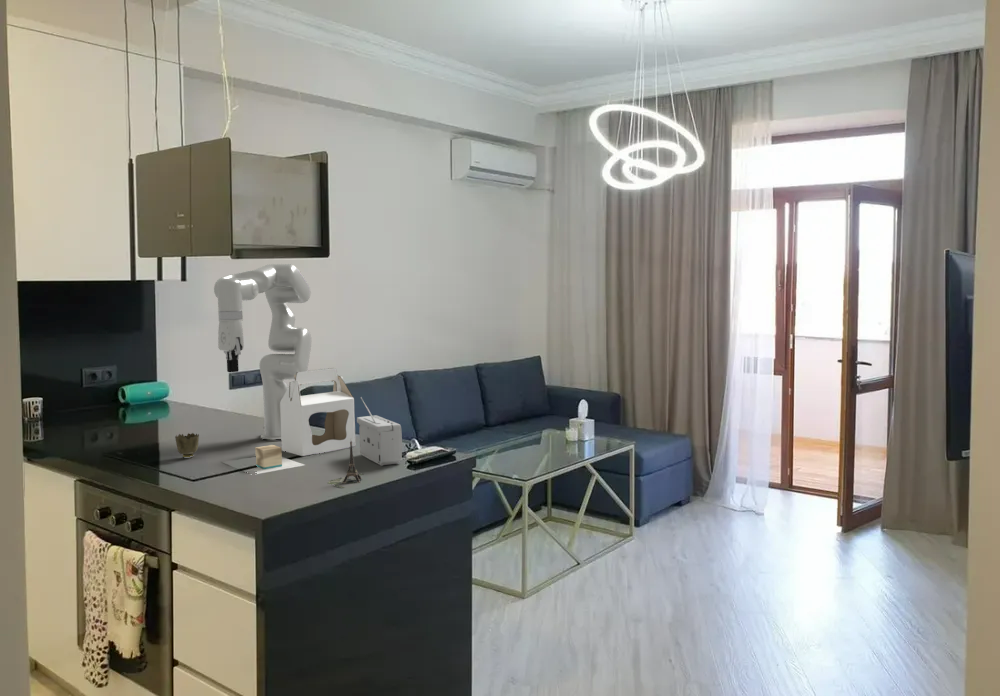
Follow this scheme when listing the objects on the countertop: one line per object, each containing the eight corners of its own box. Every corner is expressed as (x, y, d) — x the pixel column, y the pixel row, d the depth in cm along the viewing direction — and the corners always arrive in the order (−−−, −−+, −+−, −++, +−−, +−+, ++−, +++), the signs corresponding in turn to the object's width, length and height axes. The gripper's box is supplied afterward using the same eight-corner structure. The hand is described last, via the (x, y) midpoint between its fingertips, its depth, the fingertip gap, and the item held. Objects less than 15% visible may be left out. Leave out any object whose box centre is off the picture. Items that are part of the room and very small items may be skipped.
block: (263, 450, 248) (264, 469, 249) (281, 447, 252) (282, 466, 253) (255, 447, 253) (255, 466, 254) (272, 444, 257) (273, 463, 257)
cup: (199, 455, 272) (197, 432, 271) (201, 459, 265) (199, 435, 265) (175, 457, 269) (174, 434, 268) (176, 461, 262) (175, 437, 261)
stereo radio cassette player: (403, 464, 255) (401, 402, 253) (379, 467, 251) (377, 404, 249) (379, 452, 273) (378, 394, 271) (356, 455, 269) (354, 396, 267)
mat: (219, 462, 260) (219, 461, 260) (271, 454, 272) (271, 453, 272) (252, 475, 242) (252, 474, 242) (305, 465, 254) (305, 465, 254)
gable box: (334, 441, 292) (332, 365, 290) (356, 446, 283) (354, 368, 281) (280, 451, 276) (277, 371, 274) (302, 457, 267) (299, 374, 265)
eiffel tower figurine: (360, 474, 244) (359, 431, 243) (382, 479, 238) (381, 435, 237) (320, 484, 233) (318, 439, 232) (341, 490, 226) (340, 443, 225)
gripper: (210, 316, 266) (212, 371, 267) (229, 317, 255) (231, 374, 256) (232, 315, 271) (234, 369, 272) (251, 316, 260) (253, 372, 261)
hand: (232, 371), depth 264 cm, fingers closed
